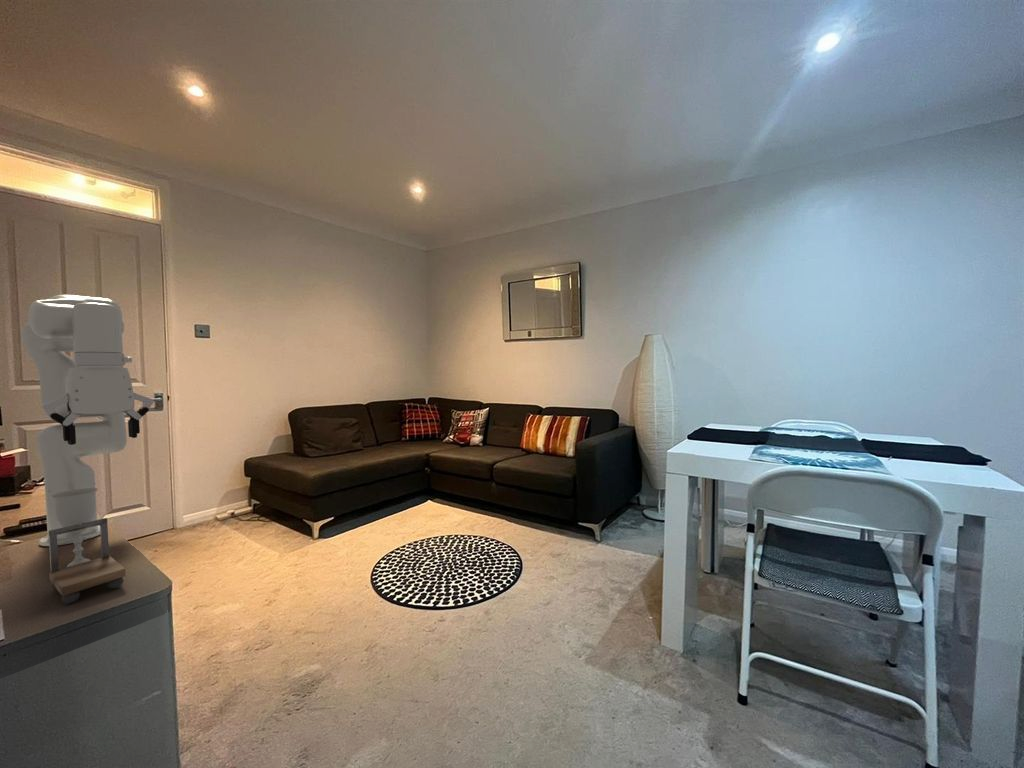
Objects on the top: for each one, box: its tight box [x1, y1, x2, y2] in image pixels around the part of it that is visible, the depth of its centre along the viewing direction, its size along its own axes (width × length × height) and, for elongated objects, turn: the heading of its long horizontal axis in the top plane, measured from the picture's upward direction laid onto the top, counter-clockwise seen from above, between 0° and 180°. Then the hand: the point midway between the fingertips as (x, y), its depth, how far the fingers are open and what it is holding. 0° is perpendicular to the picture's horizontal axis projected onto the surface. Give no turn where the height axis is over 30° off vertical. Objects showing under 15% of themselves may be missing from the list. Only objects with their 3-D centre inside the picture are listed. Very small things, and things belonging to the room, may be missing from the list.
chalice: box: [52, 487, 98, 567], centre depth 94 cm, size 7×7×18 cm
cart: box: [47, 517, 126, 605], centre depth 85 cm, size 12×9×12 cm
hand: (103, 440), depth 90 cm, fingers open, 9 cm apart
